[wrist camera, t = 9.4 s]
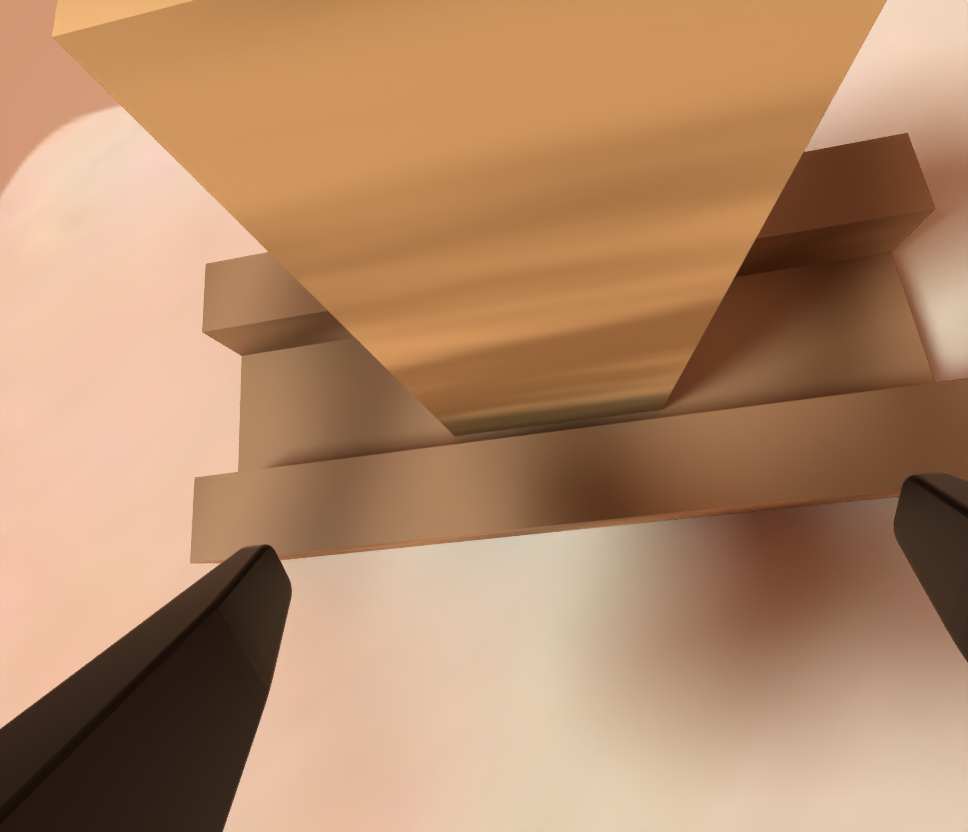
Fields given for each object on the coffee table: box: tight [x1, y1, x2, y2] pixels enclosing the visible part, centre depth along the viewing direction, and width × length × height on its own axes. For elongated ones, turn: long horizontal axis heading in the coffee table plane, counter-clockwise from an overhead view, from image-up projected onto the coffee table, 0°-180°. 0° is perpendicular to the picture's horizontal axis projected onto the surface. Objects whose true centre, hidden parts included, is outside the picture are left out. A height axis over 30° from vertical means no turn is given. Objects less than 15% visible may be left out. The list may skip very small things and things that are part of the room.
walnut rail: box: [190, 133, 968, 563], centre depth 16 cm, size 20×9×3 cm, turn 95°
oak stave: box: [52, 0, 887, 436], centre depth 10 cm, size 3×6×13 cm, turn 95°
